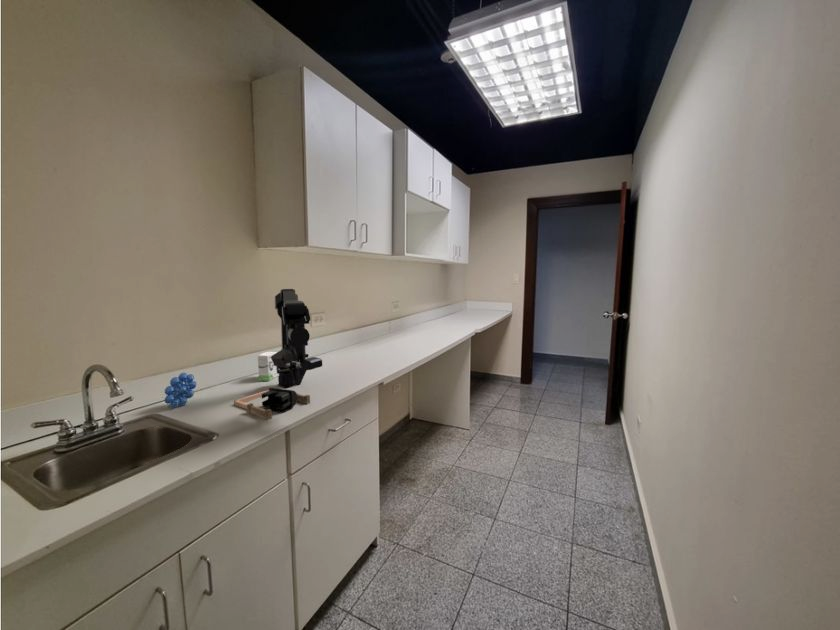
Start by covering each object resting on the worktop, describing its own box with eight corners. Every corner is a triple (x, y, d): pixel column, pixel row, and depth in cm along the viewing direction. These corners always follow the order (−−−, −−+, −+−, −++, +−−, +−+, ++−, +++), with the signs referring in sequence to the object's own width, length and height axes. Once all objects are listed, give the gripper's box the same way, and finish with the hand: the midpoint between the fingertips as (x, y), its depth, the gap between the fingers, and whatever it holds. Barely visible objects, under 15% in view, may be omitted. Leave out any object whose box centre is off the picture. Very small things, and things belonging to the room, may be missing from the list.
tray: (268, 393, 139) (267, 389, 138) (287, 399, 132) (287, 395, 132) (233, 404, 127) (233, 400, 127) (253, 411, 121) (253, 407, 120)
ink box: (268, 381, 154) (267, 355, 153) (258, 381, 155) (257, 355, 154) (279, 375, 163) (277, 351, 161) (269, 375, 164) (268, 351, 162)
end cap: (298, 406, 126) (297, 388, 125) (284, 413, 119) (283, 394, 118) (275, 403, 129) (274, 385, 128) (261, 410, 122) (260, 391, 121)
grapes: (189, 398, 133) (186, 368, 132) (201, 400, 131) (199, 370, 130) (157, 409, 122) (154, 377, 121) (171, 412, 120) (167, 378, 119)
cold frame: (290, 397, 134) (289, 390, 134) (310, 403, 128) (309, 395, 128) (247, 412, 119) (247, 404, 119) (268, 420, 114) (267, 411, 113)
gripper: (256, 341, 113) (259, 387, 115) (294, 347, 104) (296, 397, 106) (285, 336, 123) (287, 378, 125) (322, 341, 113) (324, 387, 115)
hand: (298, 385), depth 117 cm, fingers closed
